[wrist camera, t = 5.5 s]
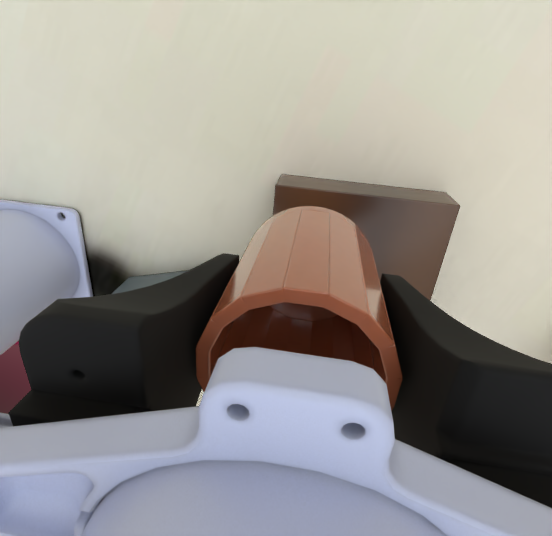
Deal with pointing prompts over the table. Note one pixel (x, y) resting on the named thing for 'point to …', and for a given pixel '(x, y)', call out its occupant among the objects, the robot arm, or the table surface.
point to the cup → (305, 297)
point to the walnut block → (384, 222)
